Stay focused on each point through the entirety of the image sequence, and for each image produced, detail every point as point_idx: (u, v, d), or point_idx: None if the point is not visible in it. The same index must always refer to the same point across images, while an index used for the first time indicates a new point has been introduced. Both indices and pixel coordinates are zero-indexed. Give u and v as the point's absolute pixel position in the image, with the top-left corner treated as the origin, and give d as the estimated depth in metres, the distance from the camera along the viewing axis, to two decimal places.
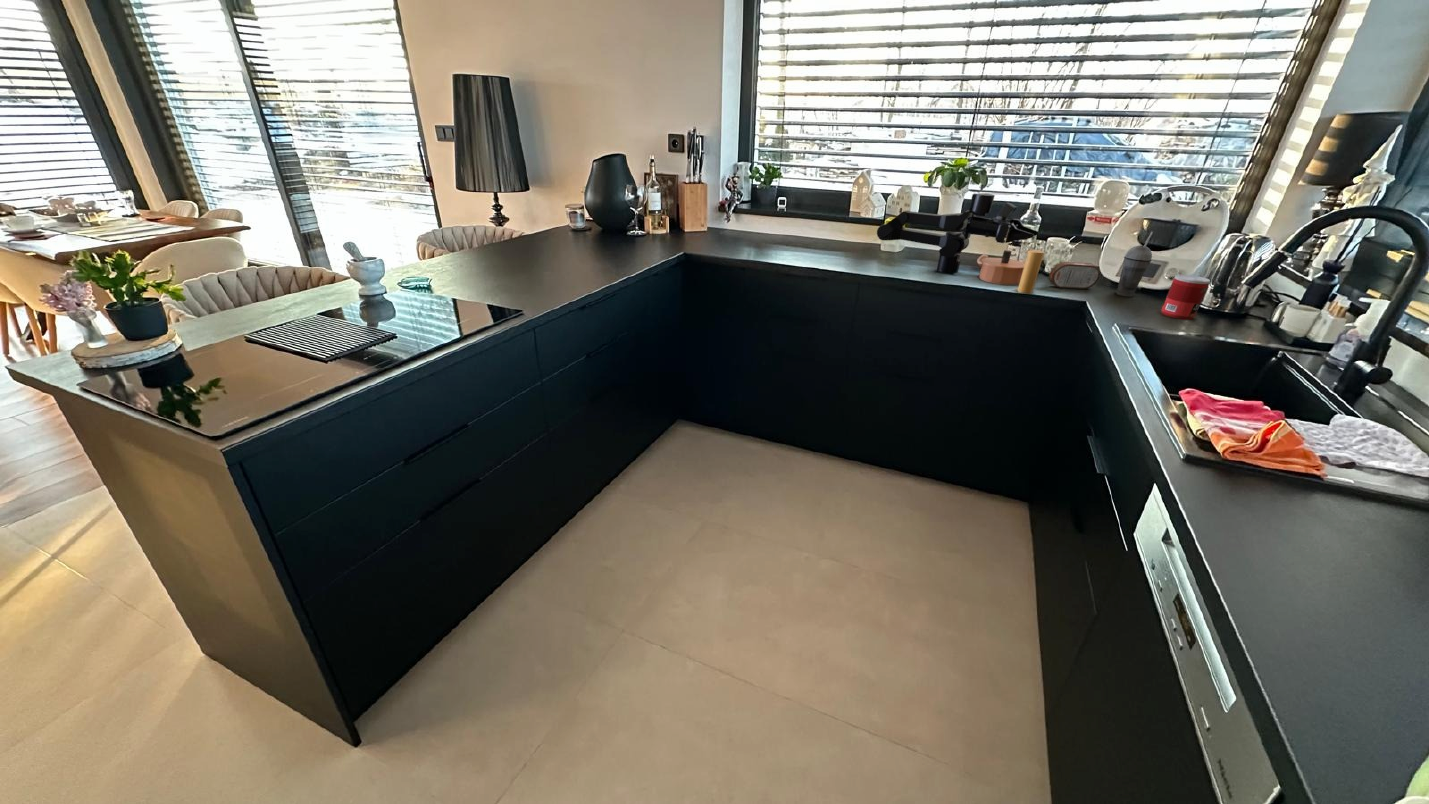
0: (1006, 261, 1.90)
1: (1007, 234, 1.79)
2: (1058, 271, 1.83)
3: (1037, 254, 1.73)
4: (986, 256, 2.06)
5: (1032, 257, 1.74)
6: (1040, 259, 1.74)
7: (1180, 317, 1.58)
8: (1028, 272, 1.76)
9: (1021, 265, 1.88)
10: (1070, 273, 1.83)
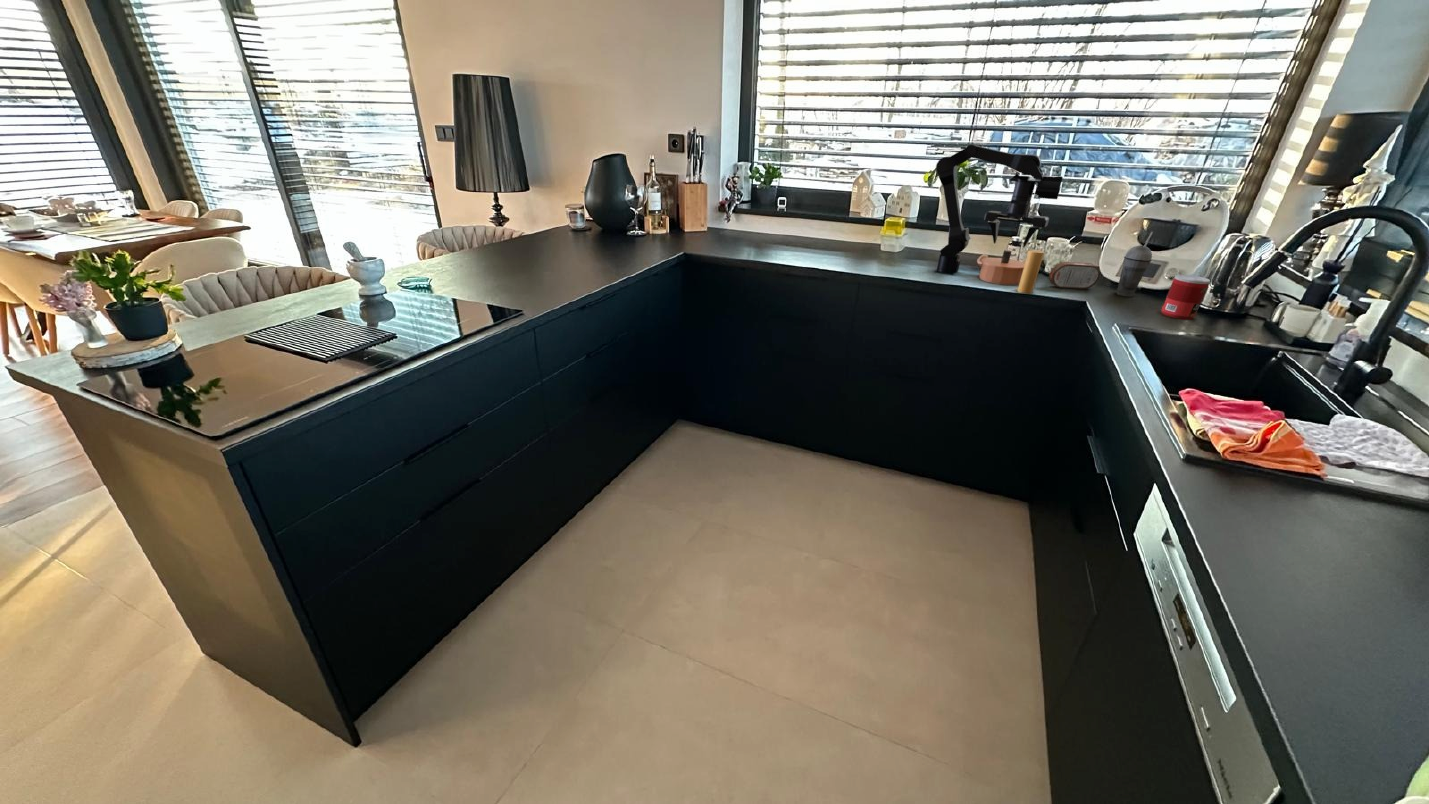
0: (1006, 261, 1.90)
1: (1040, 227, 1.81)
2: (1058, 271, 1.83)
3: (1037, 254, 1.73)
4: (986, 256, 2.06)
5: (1032, 257, 1.74)
6: (1040, 259, 1.74)
7: (1180, 317, 1.58)
8: (1028, 272, 1.76)
9: (1021, 265, 1.88)
10: (1070, 273, 1.83)
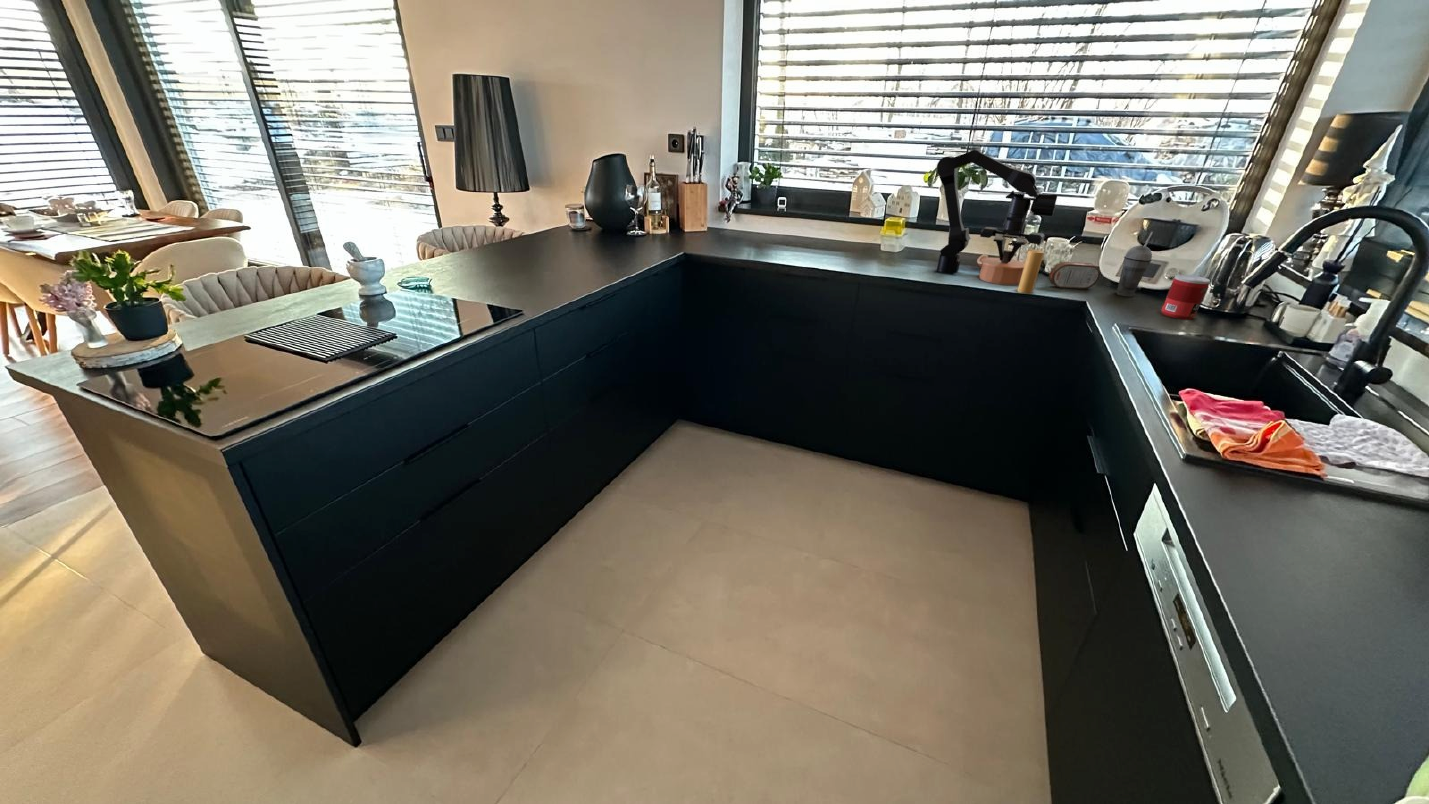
0: (1006, 261, 1.90)
1: (1025, 242, 1.85)
2: (1058, 271, 1.83)
3: (1037, 254, 1.73)
4: (986, 256, 2.06)
5: (1032, 257, 1.74)
6: (1040, 259, 1.74)
7: (1180, 317, 1.58)
8: (1028, 272, 1.76)
9: (1021, 265, 1.88)
10: (1070, 273, 1.83)
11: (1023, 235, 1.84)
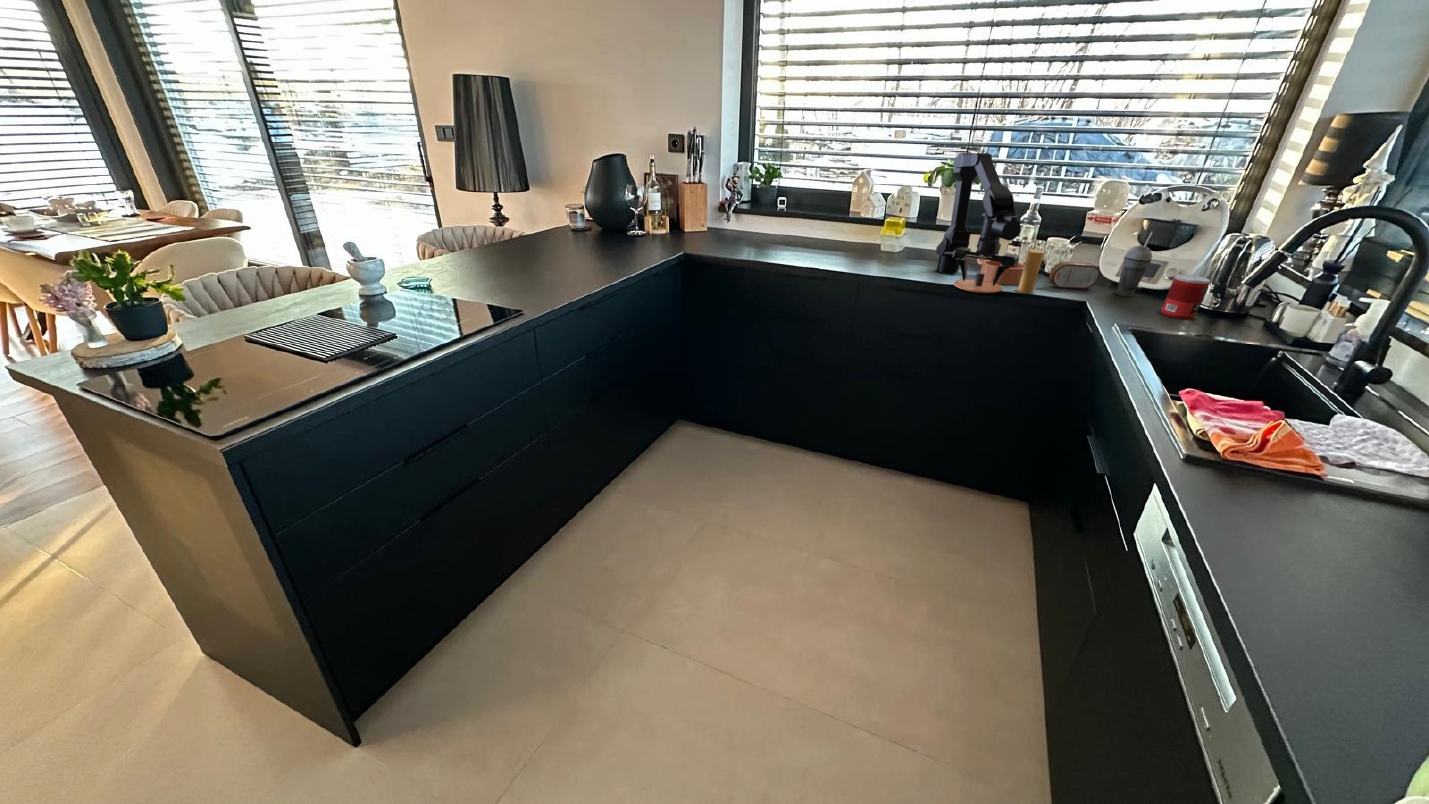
0: (979, 284, 1.81)
1: (1010, 265, 1.74)
2: (1058, 271, 1.83)
3: (1037, 254, 1.73)
4: None
5: (1032, 257, 1.74)
6: (1040, 259, 1.74)
7: (1180, 317, 1.58)
8: (1028, 272, 1.76)
9: (995, 288, 1.79)
10: (1070, 273, 1.83)
11: (996, 257, 1.75)
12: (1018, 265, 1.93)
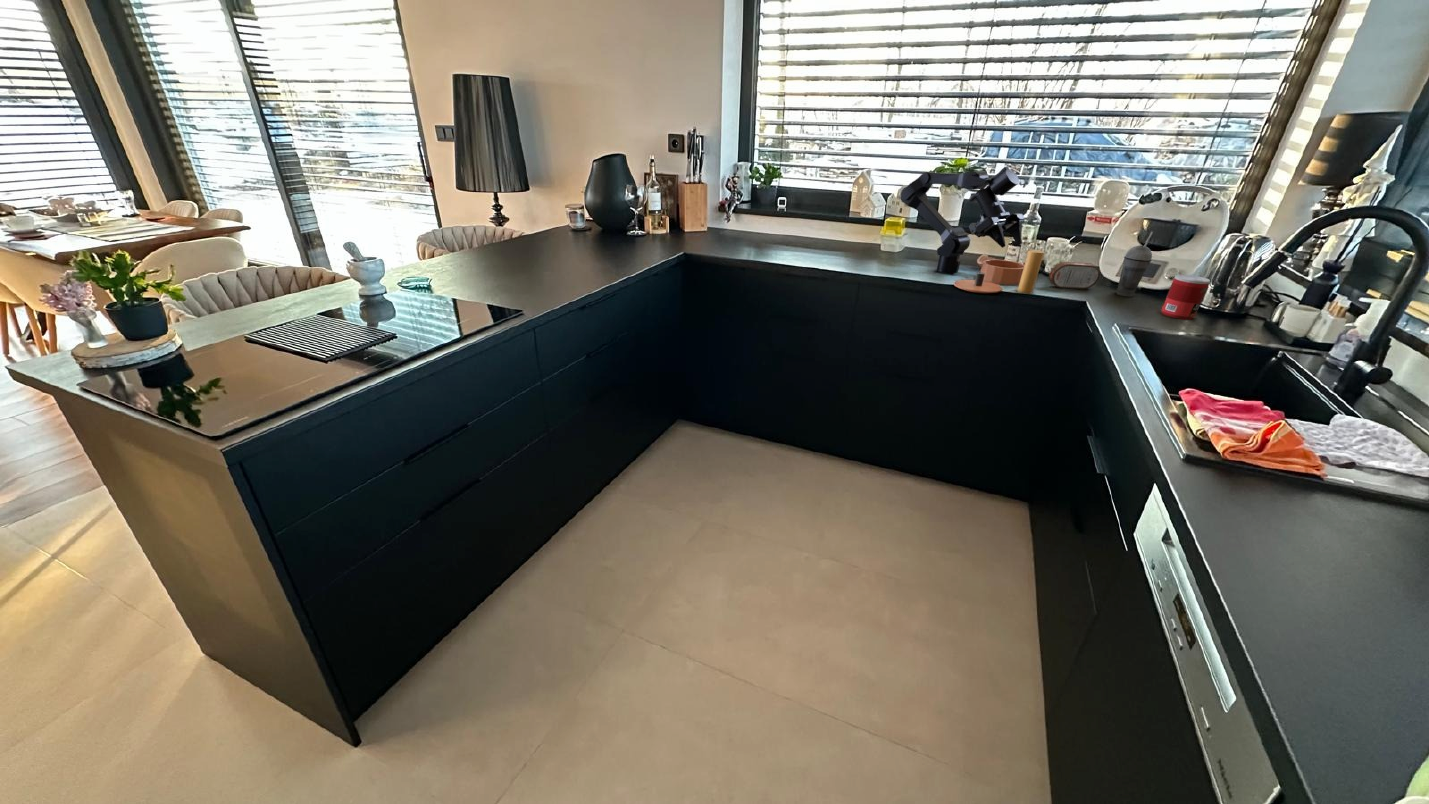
0: (979, 284, 1.81)
1: None
2: (1058, 271, 1.83)
3: (1037, 254, 1.73)
4: (986, 256, 2.06)
5: (1032, 257, 1.74)
6: (1040, 259, 1.74)
7: (1180, 317, 1.58)
8: (1028, 272, 1.76)
9: (995, 288, 1.79)
10: (1070, 273, 1.83)
11: (1006, 219, 1.83)
12: (1018, 265, 1.93)
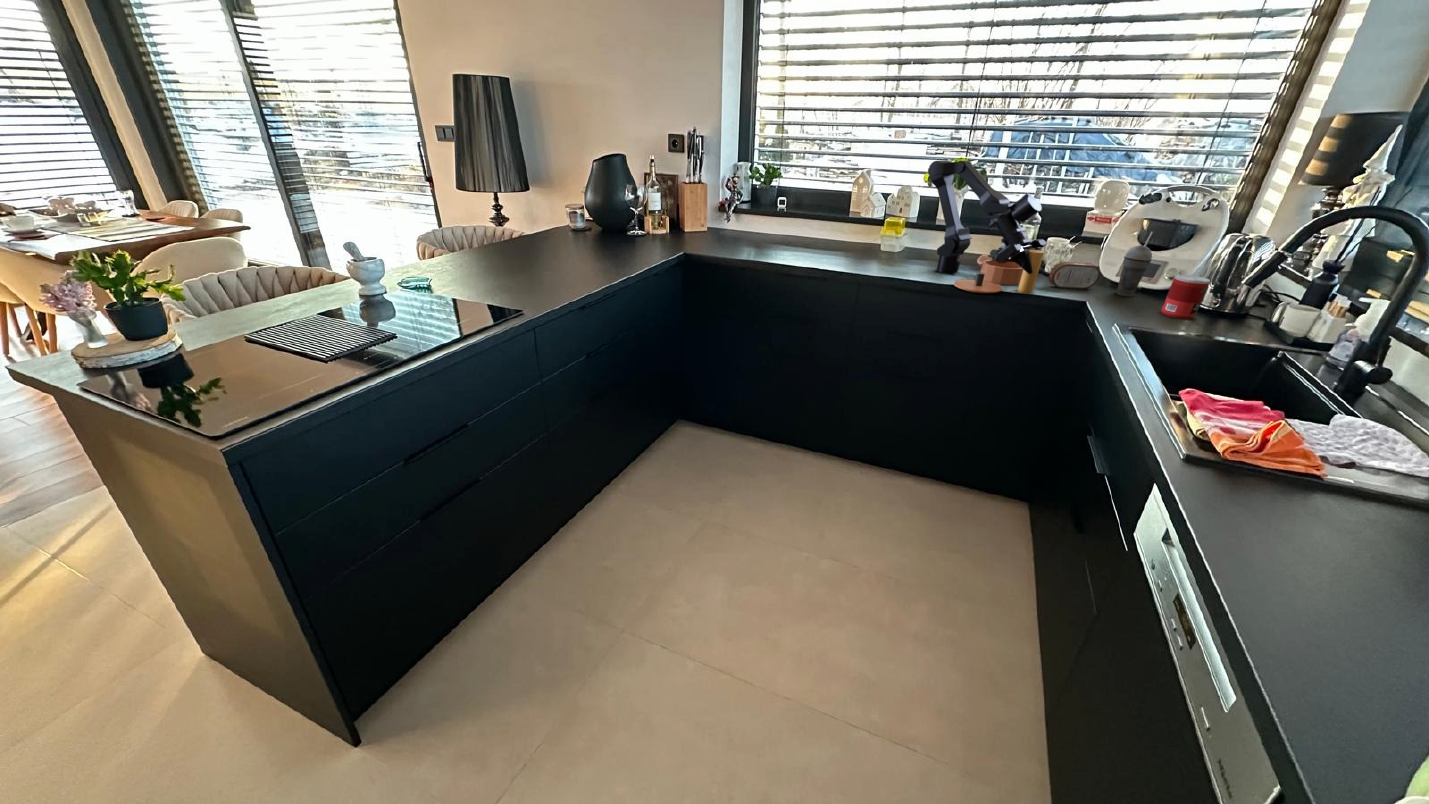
0: (979, 284, 1.81)
1: None
2: (1058, 271, 1.83)
3: (1037, 254, 1.73)
4: (986, 256, 2.06)
5: (1032, 257, 1.74)
6: (1040, 259, 1.74)
7: (1180, 317, 1.58)
8: None
9: (995, 288, 1.79)
10: (1070, 273, 1.83)
11: (1028, 246, 1.80)
12: (1018, 265, 1.93)
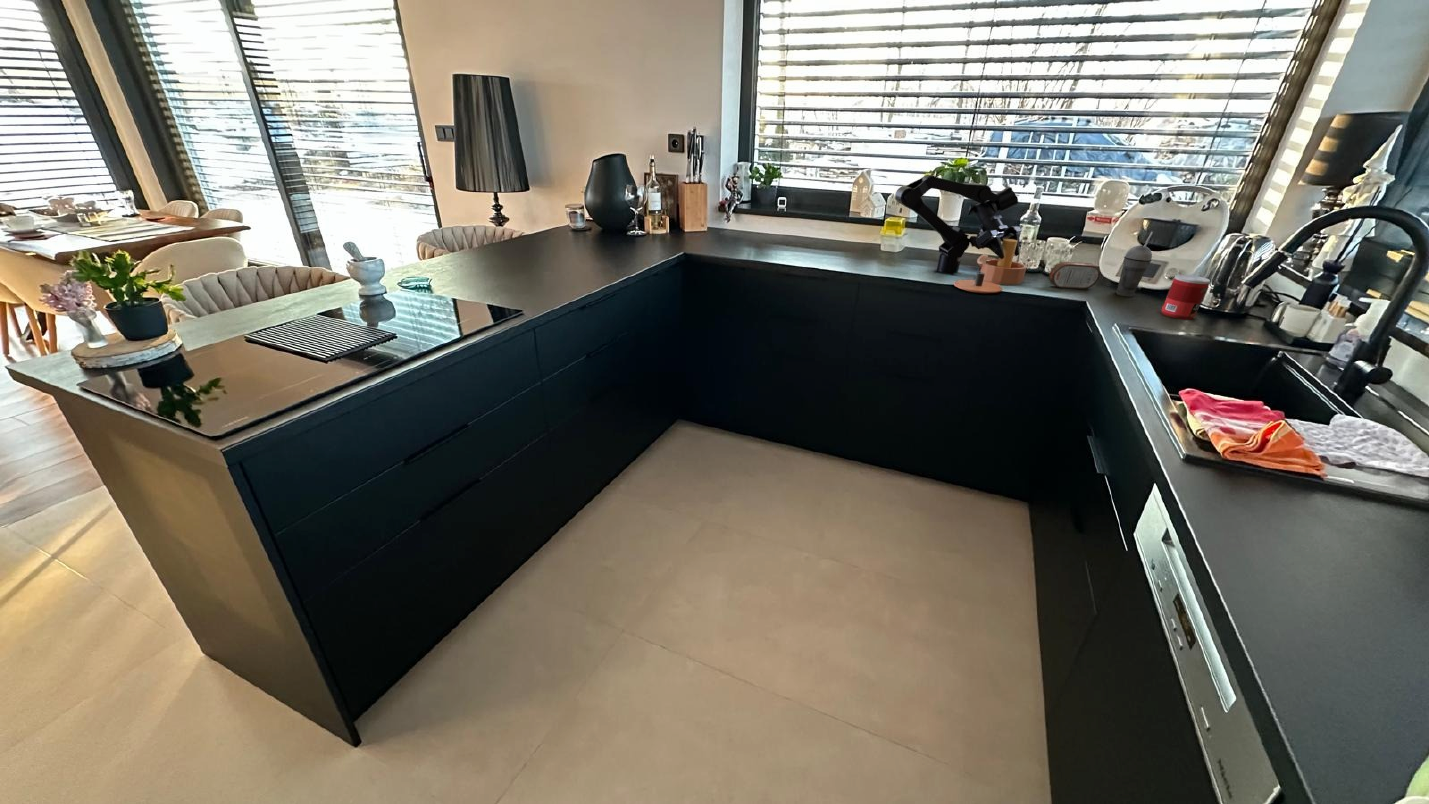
0: (979, 284, 1.81)
1: None
2: (1058, 271, 1.83)
3: (1011, 243, 1.86)
4: (986, 256, 2.06)
5: (1006, 246, 1.87)
6: (1014, 247, 1.87)
7: (1180, 317, 1.58)
8: (1003, 260, 1.89)
9: (995, 288, 1.79)
10: (1070, 273, 1.83)
11: (1004, 232, 1.92)
12: (1018, 265, 1.93)
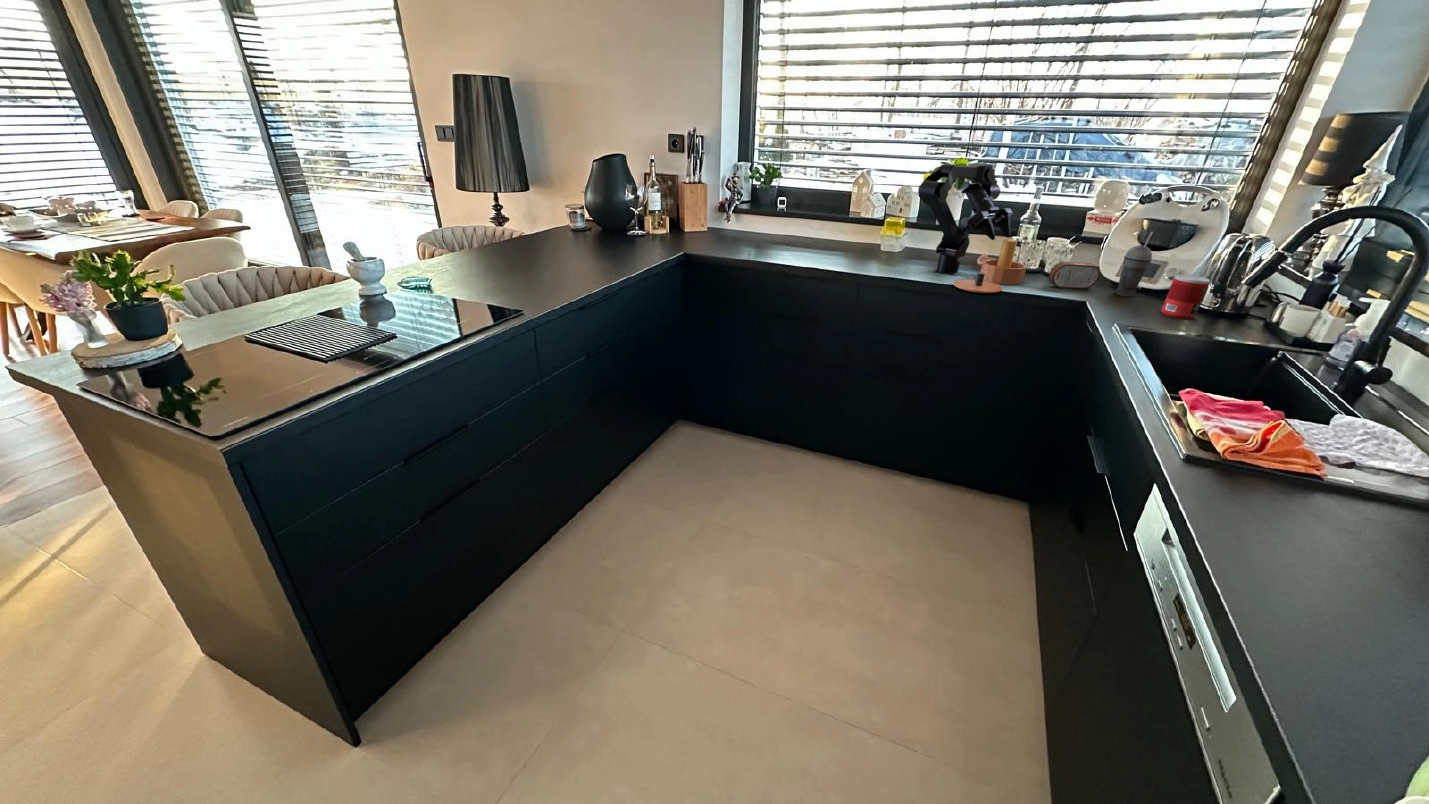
0: (979, 284, 1.81)
1: None
2: (1058, 271, 1.83)
3: (1011, 243, 1.86)
4: (986, 256, 2.06)
5: (1006, 246, 1.87)
6: (1014, 247, 1.87)
7: (1180, 317, 1.58)
8: (1003, 260, 1.89)
9: (995, 288, 1.79)
10: (1070, 273, 1.83)
11: (995, 214, 1.93)
12: (1018, 265, 1.93)
